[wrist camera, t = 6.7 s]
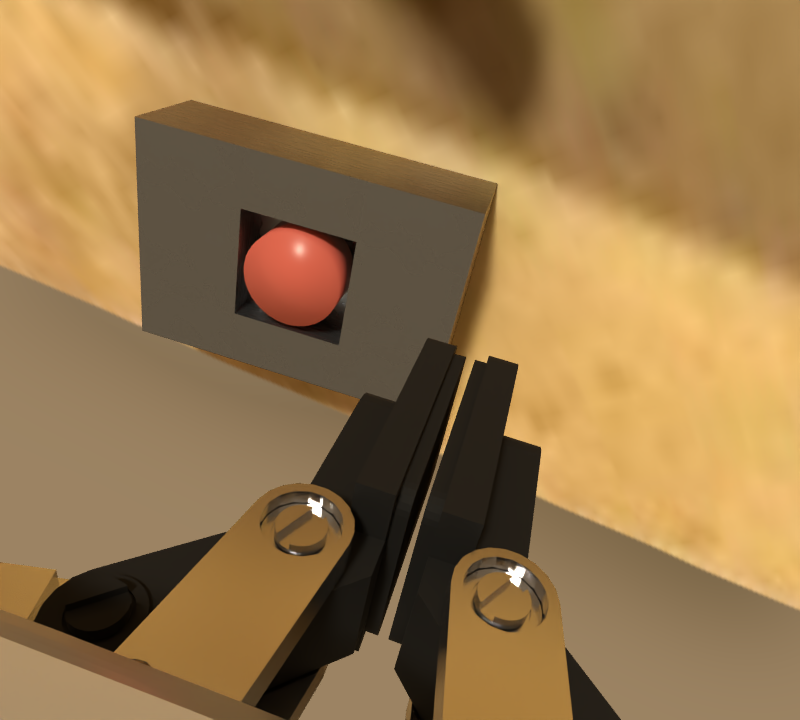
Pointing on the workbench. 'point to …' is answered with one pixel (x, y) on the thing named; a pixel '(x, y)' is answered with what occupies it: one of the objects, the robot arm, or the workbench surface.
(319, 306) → the button
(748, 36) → the workbench surface
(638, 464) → the workbench surface
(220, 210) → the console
